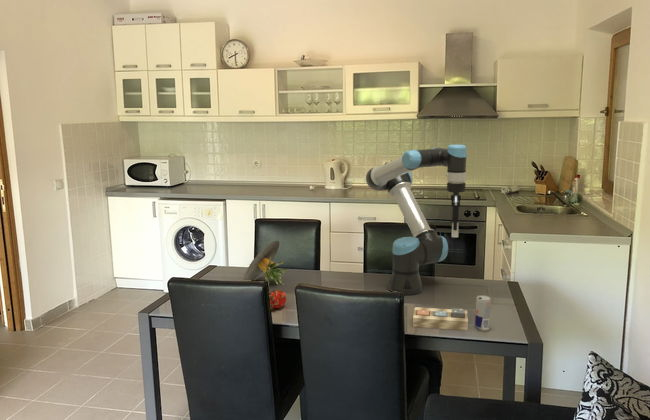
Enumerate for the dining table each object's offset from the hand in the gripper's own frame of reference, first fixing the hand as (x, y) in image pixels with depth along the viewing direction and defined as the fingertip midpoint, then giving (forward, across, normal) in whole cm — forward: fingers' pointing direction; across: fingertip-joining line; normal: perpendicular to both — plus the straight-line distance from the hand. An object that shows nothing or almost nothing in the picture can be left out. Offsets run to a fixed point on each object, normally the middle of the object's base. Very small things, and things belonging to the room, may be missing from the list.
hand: (454, 236), depth 229 cm
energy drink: (+27, +33, +11) cm, 44 cm away
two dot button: (+24, +31, +2) cm, 39 cm away
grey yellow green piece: (+27, -1, -86) cm, 90 cm away
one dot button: (+25, +31, -11) cm, 41 cm away
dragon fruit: (+27, +26, -72) cm, 81 cm away
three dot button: (+25, +31, -5) cm, 40 cm away
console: (+26, +30, -5) cm, 41 cm away
